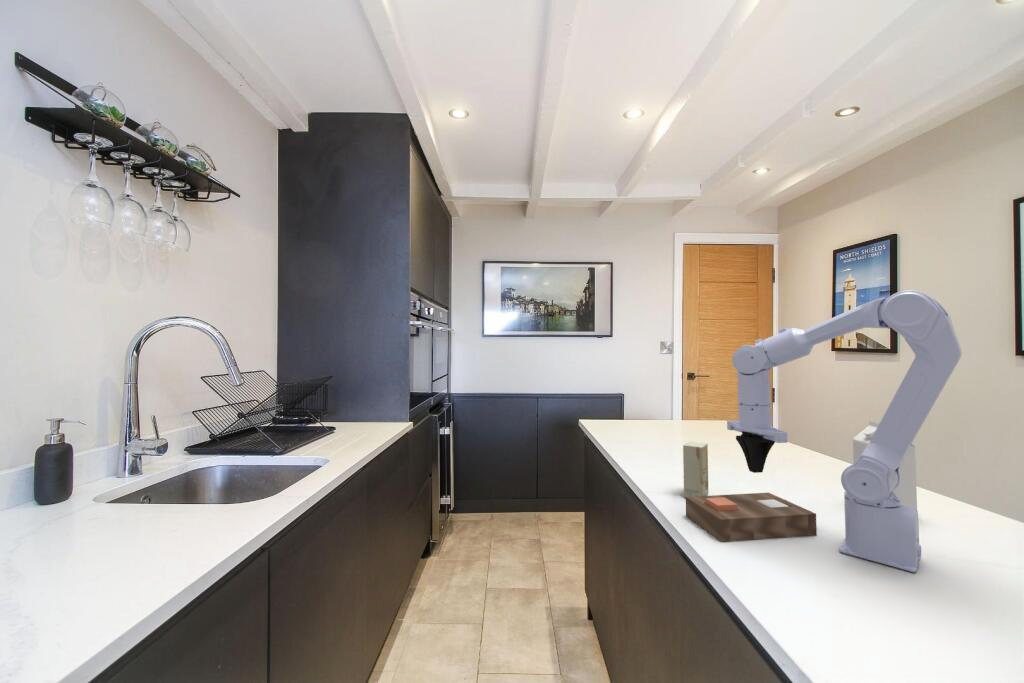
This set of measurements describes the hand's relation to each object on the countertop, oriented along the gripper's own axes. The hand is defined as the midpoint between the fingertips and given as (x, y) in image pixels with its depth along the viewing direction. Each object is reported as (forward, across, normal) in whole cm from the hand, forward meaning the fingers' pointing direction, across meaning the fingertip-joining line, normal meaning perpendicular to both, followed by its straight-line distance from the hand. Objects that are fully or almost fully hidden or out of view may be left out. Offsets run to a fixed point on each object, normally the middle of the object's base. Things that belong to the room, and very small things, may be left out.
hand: (755, 471), depth 85 cm
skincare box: (+10, -16, -3) cm, 19 cm away
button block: (+10, +2, -4) cm, 11 cm away
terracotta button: (+9, +2, -9) cm, 13 cm away
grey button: (+10, +2, +2) cm, 10 cm away
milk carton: (+10, +1, +29) cm, 30 cm away
